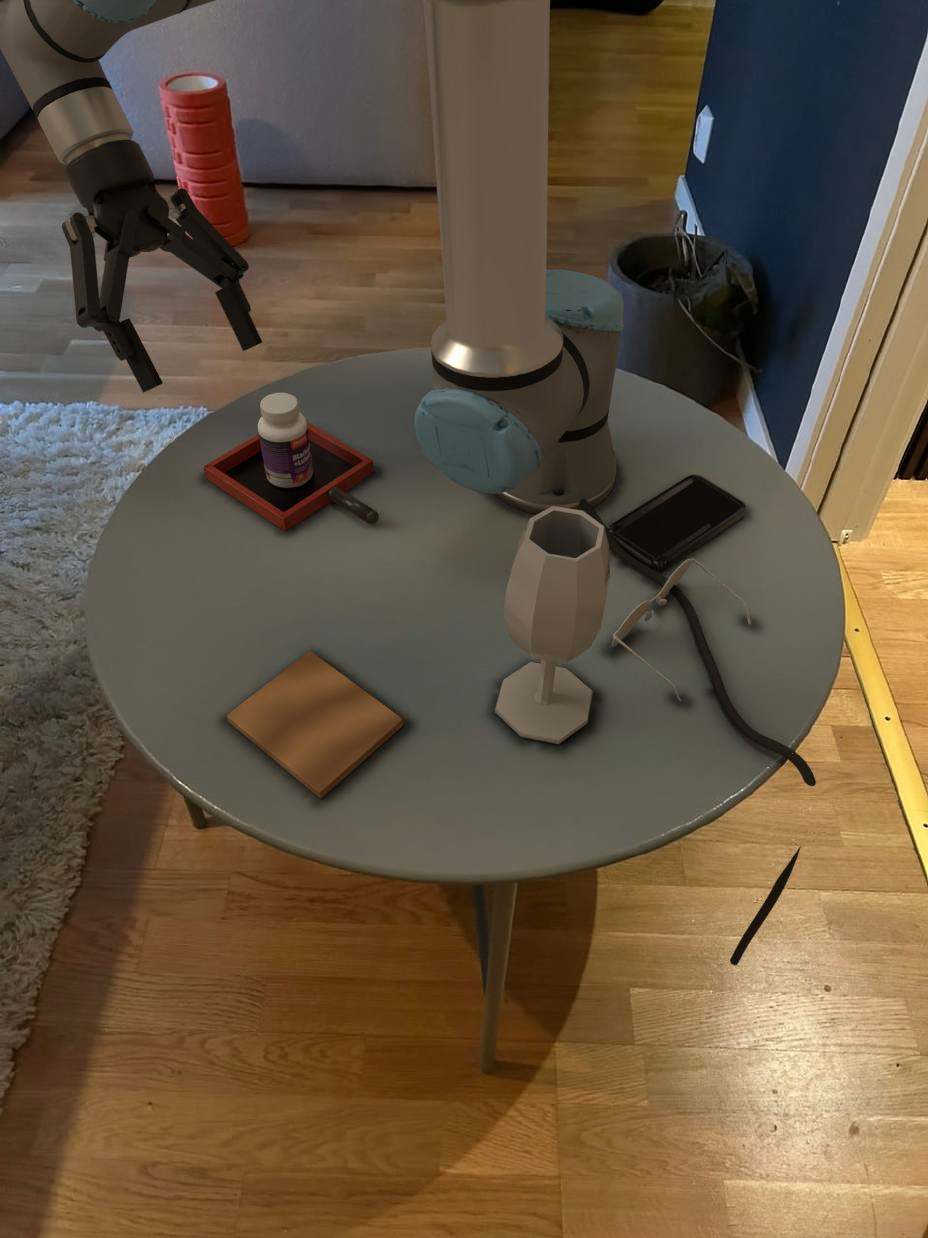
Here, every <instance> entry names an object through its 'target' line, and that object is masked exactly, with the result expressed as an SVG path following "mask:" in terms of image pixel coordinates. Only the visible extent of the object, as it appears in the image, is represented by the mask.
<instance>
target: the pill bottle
mask: <svg viewBox="0 0 928 1238" xmlns="http://www.w3.org/2000/svg"><path fill="white" fill-rule="evenodd" d="M259 406H260V415H261V416H260V418H259V420H258V423H257V433H258V434H259V439H260V444H261V450H262V455H263V460H264V466H265V472H266V476H267V479H268V480H269V482H270V483H272V484H273V485H275V486H277V487H282V488H294V487H298V486H301V485H303V484H305V483H306V482H308V481H309V480H310V479H311V477H312V475H313V464H312V457H311V449H310V442H309V434H308V427H307V422H308V421H307V419H306V417H305V415H304V414H302V413H301V412H300V408H299V402H298V399H297V397H296V396H294V395H293V394H291V393H287V392H275V393H271V394H268V395H266V396H264V397H263V398H262V399H261V401H260V404H259ZM258 434H257V435H258Z"/></svg>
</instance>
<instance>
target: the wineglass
mask: <svg viewBox="0 0 928 1238" xmlns="http://www.w3.org/2000/svg"><path fill="white" fill-rule="evenodd" d="M528 519H529V520H528V522H527V523H526V525H525V527H524V530H523V532H522V534H521V536H520V539H519V542H518V545H517V548H516V549H517V550H516V553H515V557H514V559H513V563H512V567H511V571H510V575H509V579H508V581H507V587H506V589H505V595H504V609H503V618H504V621H505V625H506V628H507V631H508V634H509V637H510V639H511V641H513V642H514V643H515V644H516V645H517V646H519V648H521V649H522V650H523V651H524V652H525V653H526V654H527V655H529V656H530V657H531V658H532V659H535V660H540V661H541V662H540V663H538V662H535V661H530V662H527V664H525V665H524V666H522V667H521V668H519V669H517V670H515V671H514V672H512V673H511V674H510V675H508V676H506V677H505V678H504V679H503V680H502V681H501V682H502V683H501V685H500V689H499V693H498V696H497V700H496V704H495V708H494V712H495V714H496V715H497V716H498V717H500V719H501V720H502V721H504V723H505V724H506V725H507V726H508V727H510V728H511V729H512V730H513V731H514V733H516V734H517V735H518V736H519V737H520V738H524V739H530V740H533V741H534V740H535V741H541V742H544V743H551V744H556V745H560V744H561V743H562V742H564V741H565V740H566V739H568V738H570V737H571V736H572V735H574V734H575V733H576V732H578V731H579V730H581V729H582V728H584V727H585V726H586V725H587V724H588V723H589V716H590V710H591V705H592V698H593V690H592V689H591V688H590V687H589V686H587V685H586V684H585V683H584V682H583V681H582V680H580V679H579V677H577V676H576V675H575V674H573V672H571V670H569V669H568V668H567V667H561V666H557V664H561V665H562V664H563V665H566V664H568V663H569V662H571V661H572V660H575V659H576V658H577V657H579V656H581V654H583V653H584V652H586V651H588V650H589V649H590V648H591V646H592V645H593V643H594V641H595V639H596V638H597V637H598V635H599V633H600V631H601V629H602V625H603V618H604V613H605V608H606V602H607V596H608V591H609V585H610V581H611V559H610V555H611V554H610V553H611V552H610V547H609V544H608V540H607V536H606V532H605V528H604V526H603V525H601V524H600V523H599V522H597V521H596V520H595V519H593V518H592V517H591V516H589V515H588V514H587V513H585V512H584V511H582V510H575V509H569V508H562V507H556V506H552V507H550V508H548V509H546V510H544V511H543V512H541V513H539V514H534V515H533V516H531V517H530V518H528Z"/></svg>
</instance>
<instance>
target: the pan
mask: <svg viewBox="0 0 928 1238" xmlns="http://www.w3.org/2000/svg"><path fill="white" fill-rule="evenodd" d="M307 427H308V434H309V442H310V449H311V457H312V464H313V475H312V477H311V479H310V480H309V481H308V482H306V483H305V484H303V485H301V486H298V487H294V488H282V487H277V486H275V485H273V484H272V483H270V482H269V480H268V479H267V476H266V472H265V466H264V460H263V455H262V450H261V444H260V439H259V434H256V435H254V436H253V437H251V438H249V439H248V440H246V441H244V442H242V443H241V444H238V445H237V446H235V447H234V448H231V449H230V450H229V451H227V452H225V453H223V454H222V455H220V456H219V457H216V458H215V459H213V460H211V461H210V462H207V463H206V464H204V465H203V466H202V468H203V473H204V476H205V479H206V480H208V481H209V482H210V483H212V484H214V485H215V486H216V487H218V488H219V489H221V490H223V491H224V492H225V493H226V494H228V495H230V496H232V497H233V498H234V499H236V500H237V501H239V502H241V504H243V505H245V506H246V507H248V508H249V509H251V510H252V511H254V512H256V513H257V514H259V516H261V517H263V518H265V519H266V520H268V521H270V522H271V523H272V524H273V525H275V526H277V527H278V528H280V529H281V530H283V531H284V532H287V531H288V530H290V529H291V528H293V527H294V526H296V525H297V524H299V523H300V522H302V521H303V520H305V519H306V518H308V517H310V516H311V515H312V514H313V513H315V512H317V511H318V510H320V509H321V508H323V507H324V506H326V505H328V504H329V503H330V502H333V503H335V504H336V505H338V506H339V507H341V508H343V509H344V510H346V511H348V512H349V513H350V514H353V515H354V516H355V517H357V518H359V519H360V520H362V521H364V522H365V523H367V524H369V525H374V524H376V523H377V522H378V521H379V519H380V515H379V512H378V511H377V510H376V509H374V508H373V507H371V506H369V505H368V504H365V503H364V502H363V501H361V500H359V499H358V498H356V497H354V496H353V495H352V494H350V493H348V492H347V491H348V490H350V489H351V488H353V487H355V486H356V485H357V484H359V483H360V482H361V481H363V480H366V478H368V477H370V476H371V475H373V474H374V473H375V465H374V463H375V462H374V459H372V458H370V457H369V456H367V455H365V454H364V453H362V452H361V451H358V450H357V449H355V448H353V447H351V446H350V445H348V444H346V443H345V442H342V441H341V440H339V439H337V438H336V437H334V436H332V435H331V434H329V433H328V432H325V431H324V430H322V429H320V428H318V427H317V426H315V425H314V424H312V423H310V422H308V421H307Z"/></svg>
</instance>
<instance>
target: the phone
mask: <svg viewBox="0 0 928 1238" xmlns="http://www.w3.org/2000/svg"><path fill="white" fill-rule="evenodd" d="M745 510H746V503H745V502H744V501H743V500H741V499H739V498H738V497H736V496H735V495H733V494H732V493H729V491H726V490H725V489H724V488H721V487H720V486H718V485H717V484H715V483H714V482H712V481H710V480H708V478H705V477H703V476H702V475H699V474H690V475H688V476H686V477H685V478H683V479H681V480H680V481H678V482H676V483H675V484H673V485H672V486H670V487H669V488H667V489H665V490H664V491H662V492H660V493H659V494H657V495H656V496H654V497H652V498H650V499H649V500H647V501H646V502H644V503H643V504H641V505H639V506H637V508H635V509H633V510H631V511H629V513H627V514H625V515H623V516H622V517H619V519H617V520H615V521H613V522H612V523H611V524H610V525H609V526H608V528H607V529H608V530H609V532H610V534H611V535H612V536H613V538H614V539H615V541H616V542H617V543H618V545H619V546H620V547H621V548H622V549H623V550H624V551H626V552H627V553H628V554H629V555H630V556H632V557H633V558H635V559H636V560H638V561H639V562H641V563H643V564H644V565H646V566H648V567H650V568H651V569H653V570H655V571H657V572H658V573H661V572H664V571H666V570H667V569H669V568H671V566H673V565H675V564H676V563H678V562H679V561H680V560H682V559H684V558H685V557H687V556H688V555H689V554H691V553H692V552H694V551H695V550H697V549H699V548H700V547H701V546H703V545H705V543H707V542H708V541H710V540H711V539H713V538H714V537H716V536H717V535H718V534H720V533H722V532H723V531H725V530H726V529H728V528H729V527H730V526H732V525H733V524H735V523H736V522H738V521H739V520H741V519H742V518H743V516H744V513H745Z"/></svg>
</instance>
